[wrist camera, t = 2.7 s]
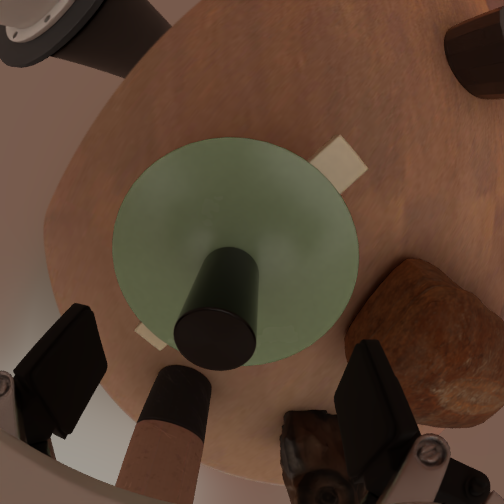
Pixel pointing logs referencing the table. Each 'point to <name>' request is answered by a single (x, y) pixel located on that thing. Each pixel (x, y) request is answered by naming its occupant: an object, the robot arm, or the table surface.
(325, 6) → the table surface
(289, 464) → the owl
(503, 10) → the cup
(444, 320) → the bread
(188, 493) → the travel mug
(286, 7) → the table surface
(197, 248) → the lid
